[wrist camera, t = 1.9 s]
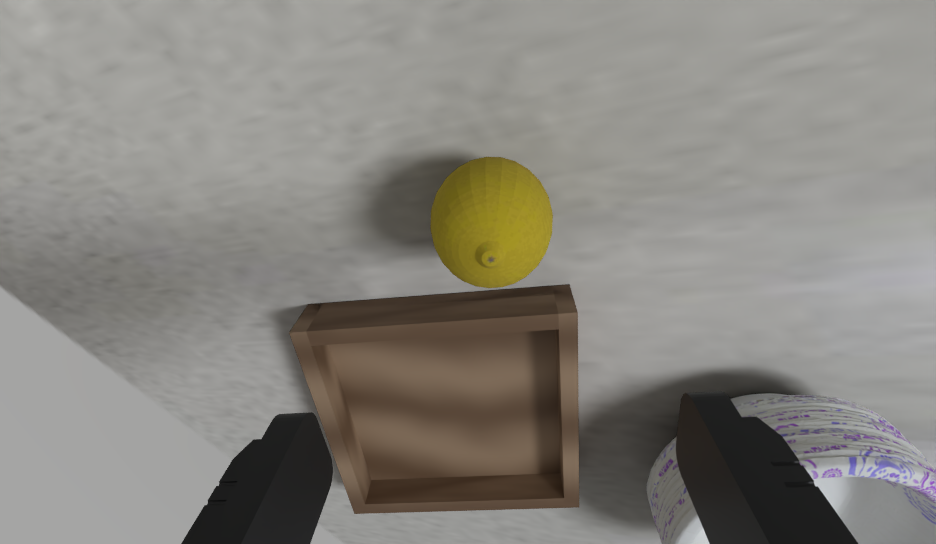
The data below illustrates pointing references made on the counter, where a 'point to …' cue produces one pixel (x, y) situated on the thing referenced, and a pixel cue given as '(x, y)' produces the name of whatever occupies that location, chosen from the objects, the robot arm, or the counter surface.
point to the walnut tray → (448, 398)
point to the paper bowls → (823, 471)
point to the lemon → (491, 222)
